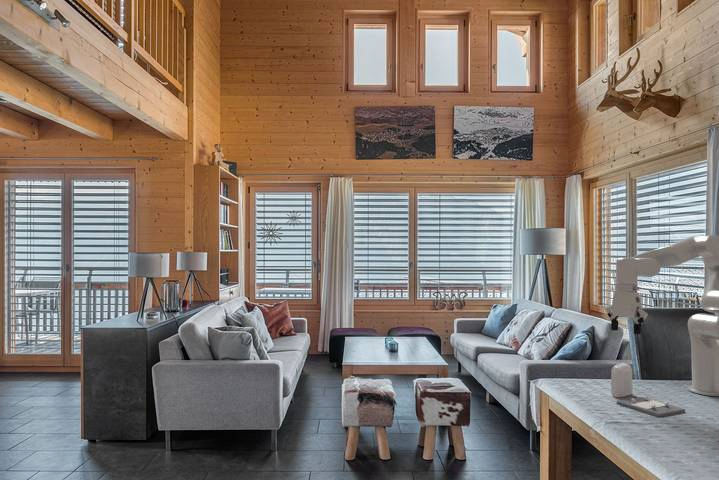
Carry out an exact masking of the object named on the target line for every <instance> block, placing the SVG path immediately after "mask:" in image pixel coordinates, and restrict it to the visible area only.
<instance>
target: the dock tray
mask: <svg viewBox="0 0 719 480" xmlns="http://www.w3.org/2000/svg"><path fill="white" fill-rule="evenodd" d="M616 405H618V406H619V405H620V406H622V405H623V406H622V407H625V408H628V409H631V410H635V411H638V412H642V413H645V414H648V415H650V416H655V417H657V418H660V417H661V418H662V417H666V416H671V415H677V414H682V413H683V414H684V413H685V412H686V409H685V408H683V407H678V406H675V405H673V404H672V405H671V404H670V403H669V402H667V401H665V402H662V401H657V400H654V399H651V398H649V396H640V397H639V396H638V397H635V398H634V397H633V398H627V399H622V400H621V399H620V400H616Z"/></svg>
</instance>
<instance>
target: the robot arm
mask: <svg viewBox="0 0 719 480" xmlns="http://www.w3.org/2000/svg"><path fill="white" fill-rule="evenodd" d="M699 257H701V259H702V262H703V264H704V265H705V267H706V269H707V272H708V280H707V284H706V286H705V288H704V291H703V294H702V296H701V299H700V306H701V308H702V310H704V311H706V312H709V313H710V314H709V313H708V314H707V313H695V314H693V315H691V316H690V317H689V318H688V321H687V329H688V335H689V337H690V348H691V353H690V354H691V355H690V356H691V359H690V360H691V385H688V386H687V390H688V391H689V392H691V393H694V394H698V395H703V396H711V397H719V342H718V341H719V315H715V314H719V235H715V234H703V235H702V234H700V235H692V236H689V237H687V238H685V239H682V240H680V241H677V242H675V243H672V244H669V245H667V246H663V247H659V248H656V249H651V250H648V251H645V252H642V253H639V254H637V255H633V256H631V257H618V258H617V259H616V262H615V291H614V292H613V297H612V303H611V305H610V306H609V307H607V308H605V312H606V313H607V317H609V320H610V329H611V331H619V318H625V319H626V318H627V319H632V321H633V322H634V323H633V334H634V335H641V334H642V325H643V323H644V322H645V321H646V319H647V317H648V315H649V313H648V312H646V311H645V310H644V309H643V308H642V307H643V306H642V300H641V299H642V298H641V295H640V293H639V292H638V291H640V290H641V288H640V286H638V277H641V278H652V277H655V276H658V275H659V274H660V272H661V268H669V267H671V268H672V267H675V266H679V265H683V264H684V263H686V262H689V261H692V260H694V259H697V258H699ZM711 313H713V314H711Z"/></svg>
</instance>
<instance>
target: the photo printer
mask: <svg viewBox="0 0 719 480" xmlns="http://www.w3.org/2000/svg"><path fill="white" fill-rule="evenodd" d="M610 377H611V378H610V380H611V382H610V383H611V385H610V386H611V389H610V391H611V396H612V397H615V398H620V399H621V398H624V397H627V396H631V395H634V394H633V393H634V391H633V388H634V386H633V368H632V366H631V365H629V364H627V363H618V364H616V365H614V366H613V367H612V368H611V370H610Z"/></svg>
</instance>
